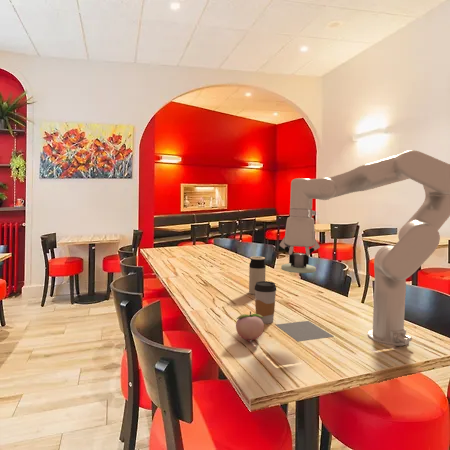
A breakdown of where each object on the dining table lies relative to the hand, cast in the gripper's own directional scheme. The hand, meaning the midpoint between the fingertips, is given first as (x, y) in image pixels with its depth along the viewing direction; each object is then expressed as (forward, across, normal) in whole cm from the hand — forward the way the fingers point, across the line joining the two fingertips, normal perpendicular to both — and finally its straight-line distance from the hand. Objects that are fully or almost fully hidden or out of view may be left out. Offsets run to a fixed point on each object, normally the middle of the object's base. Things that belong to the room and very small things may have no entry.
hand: (298, 265), depth 124 cm
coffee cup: (+24, +12, -6) cm, 27 cm away
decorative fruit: (+24, +15, +14) cm, 31 cm away
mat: (+24, -3, +1) cm, 24 cm away
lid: (+1, 0, 0) cm, 1 cm away
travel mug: (+24, +18, -47) cm, 56 cm away
